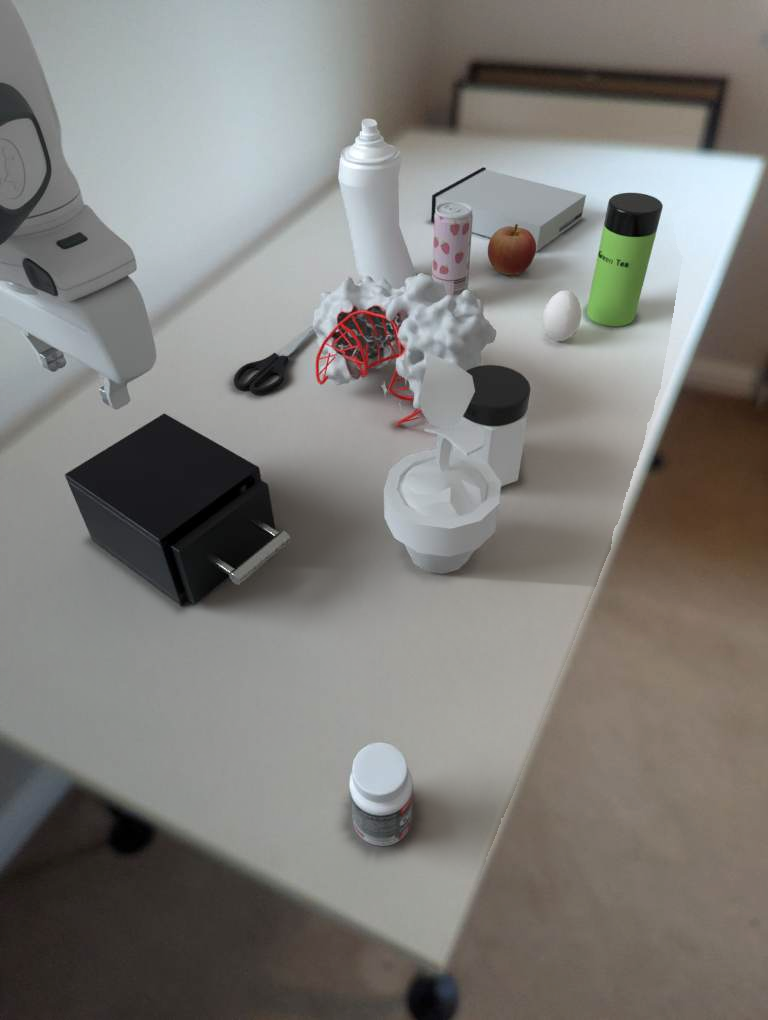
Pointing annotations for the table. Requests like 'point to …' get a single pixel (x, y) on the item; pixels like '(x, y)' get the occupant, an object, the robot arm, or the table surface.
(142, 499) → the black drawer cabinet
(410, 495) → the potted plant
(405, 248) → the spray can
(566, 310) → the egg
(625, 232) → the tumbler
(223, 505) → the drawer
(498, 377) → the jar
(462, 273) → the beverage can
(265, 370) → the scissors
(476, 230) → the disc drive
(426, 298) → the molecular structure model
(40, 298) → the robot arm
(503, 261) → the apple
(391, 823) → the pill bottle
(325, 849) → the table surface
